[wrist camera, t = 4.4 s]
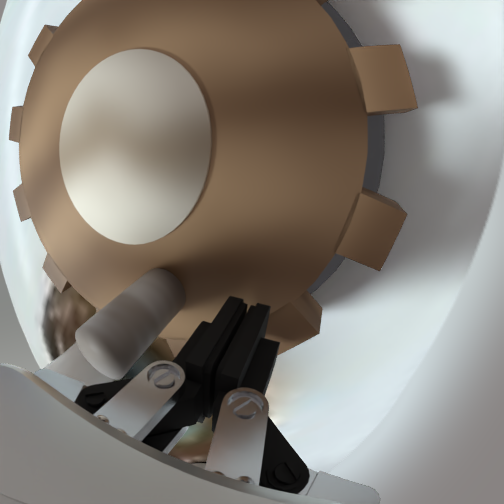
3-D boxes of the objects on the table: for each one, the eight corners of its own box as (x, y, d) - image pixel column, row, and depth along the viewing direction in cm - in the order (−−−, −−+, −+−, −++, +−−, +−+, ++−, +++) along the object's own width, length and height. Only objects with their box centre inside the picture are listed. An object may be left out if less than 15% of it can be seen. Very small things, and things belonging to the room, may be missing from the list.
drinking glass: (97, 328, 22) (-14, 437, 9) (136, 385, 24) (50, 496, 10) (65, 332, 24) (-26, 416, 11) (99, 381, 26) (23, 469, 13)
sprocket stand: (398, 309, 14) (411, 359, 10) (100, 318, 21) (69, 344, 18) (299, -84, 6) (285, -123, 3) (34, 57, 14) (-3, 57, 10)
